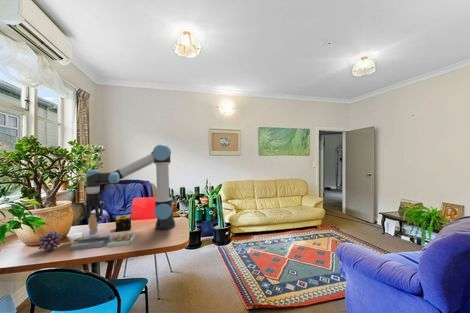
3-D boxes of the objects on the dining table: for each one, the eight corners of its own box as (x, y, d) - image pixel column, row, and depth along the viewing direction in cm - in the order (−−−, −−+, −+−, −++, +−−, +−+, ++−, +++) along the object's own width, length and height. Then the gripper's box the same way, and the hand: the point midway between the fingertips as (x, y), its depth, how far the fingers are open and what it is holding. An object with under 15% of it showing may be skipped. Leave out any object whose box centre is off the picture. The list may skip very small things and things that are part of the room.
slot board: (114, 239, 142) (114, 234, 142) (108, 248, 128) (107, 242, 128) (80, 243, 136) (80, 237, 136) (69, 252, 123) (69, 246, 123)
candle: (131, 226, 169) (131, 214, 169) (130, 230, 160) (130, 217, 160) (116, 228, 165) (116, 215, 165) (115, 232, 156) (115, 219, 156)
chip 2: (129, 239, 140) (129, 233, 140) (128, 241, 136) (128, 235, 136) (123, 240, 139) (122, 234, 139) (121, 242, 135) (121, 236, 135)
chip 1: (122, 240, 139) (122, 234, 139) (121, 242, 135) (121, 236, 135) (116, 241, 138) (115, 235, 138) (114, 243, 134) (114, 237, 134)
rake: (97, 232, 146) (97, 213, 146) (94, 235, 141) (94, 215, 141) (92, 232, 145) (92, 213, 145) (89, 235, 140) (89, 216, 140)
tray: (135, 236, 146) (135, 232, 146) (130, 245, 131) (130, 240, 131) (114, 239, 143) (114, 234, 143) (107, 248, 127) (107, 243, 127)
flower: (39, 257, 118) (39, 235, 118) (34, 251, 125) (34, 231, 125) (65, 249, 127) (64, 230, 127) (59, 245, 134) (59, 226, 134)
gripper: (108, 191, 149) (108, 224, 149) (81, 192, 145) (82, 226, 144) (104, 192, 142) (104, 227, 141) (76, 194, 137) (77, 230, 137)
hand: (93, 227), depth 143 cm, fingers closed on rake, 3 cm apart
